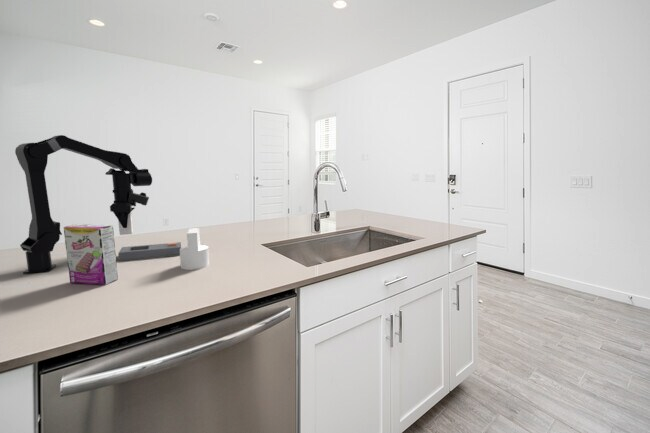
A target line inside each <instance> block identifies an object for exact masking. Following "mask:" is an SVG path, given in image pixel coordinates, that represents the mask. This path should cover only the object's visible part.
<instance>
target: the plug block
mask: <svg viewBox="0 0 650 433" xmlns="http://www.w3.org/2000/svg"><path fill="white" fill-rule="evenodd" d="M132 212H133V211H131V212H130V213H129V214H128V223H127V228H123V227H122V225H121V223H120V222H119V220H118V219H117V220H118V221H117V222H118V230H119V235H120V236H123V235H133V233H134V226H133V225H134V224H133V214H132Z"/></svg>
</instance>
